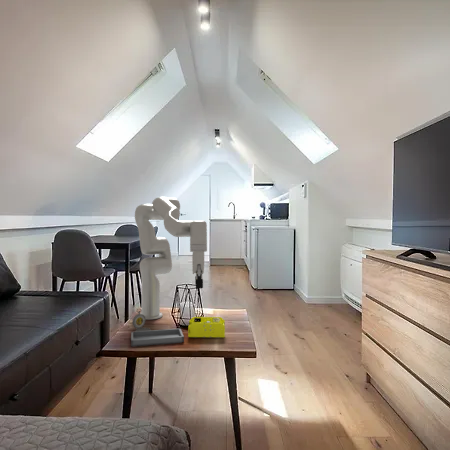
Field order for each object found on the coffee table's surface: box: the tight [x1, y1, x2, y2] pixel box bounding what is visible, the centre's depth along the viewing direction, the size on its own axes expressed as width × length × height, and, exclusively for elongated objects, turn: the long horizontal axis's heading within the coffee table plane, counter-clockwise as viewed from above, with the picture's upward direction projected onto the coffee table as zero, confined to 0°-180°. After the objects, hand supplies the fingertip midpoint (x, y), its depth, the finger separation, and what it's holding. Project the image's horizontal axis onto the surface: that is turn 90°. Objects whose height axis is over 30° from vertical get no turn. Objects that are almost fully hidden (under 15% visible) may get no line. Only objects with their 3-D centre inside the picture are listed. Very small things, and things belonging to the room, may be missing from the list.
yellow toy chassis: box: [187, 316, 226, 339], centre depth 158 cm, size 16×6×8 cm, turn 91°
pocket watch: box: [132, 308, 151, 331], centre depth 164 cm, size 8×8×10 cm
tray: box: [130, 328, 185, 347], centre depth 153 cm, size 12×22×2 cm, turn 105°
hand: (199, 286), depth 158 cm, fingers open, 9 cm apart
